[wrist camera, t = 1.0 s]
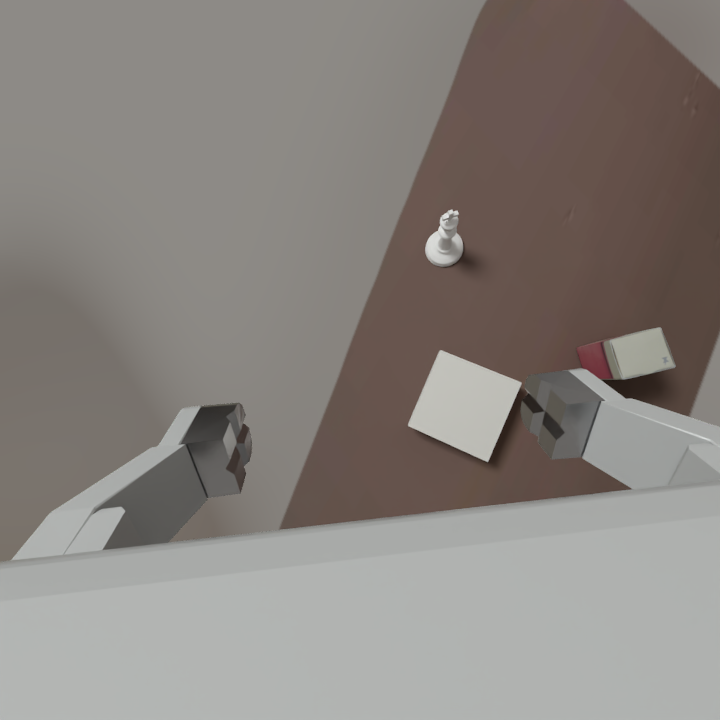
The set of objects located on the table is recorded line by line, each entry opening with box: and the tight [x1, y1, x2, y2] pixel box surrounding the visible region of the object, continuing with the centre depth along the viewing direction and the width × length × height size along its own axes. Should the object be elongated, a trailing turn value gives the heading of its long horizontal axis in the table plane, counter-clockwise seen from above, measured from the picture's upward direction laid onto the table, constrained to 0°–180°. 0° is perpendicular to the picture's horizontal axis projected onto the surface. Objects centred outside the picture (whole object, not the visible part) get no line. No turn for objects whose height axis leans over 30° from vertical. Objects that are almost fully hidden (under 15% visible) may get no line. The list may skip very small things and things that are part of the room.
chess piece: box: [425, 210, 463, 267], centre depth 41 cm, size 5×5×10 cm
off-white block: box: [408, 350, 522, 462], centre depth 43 cm, size 10×10×4 cm
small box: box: [577, 328, 676, 380], centre depth 38 cm, size 5×4×8 cm
